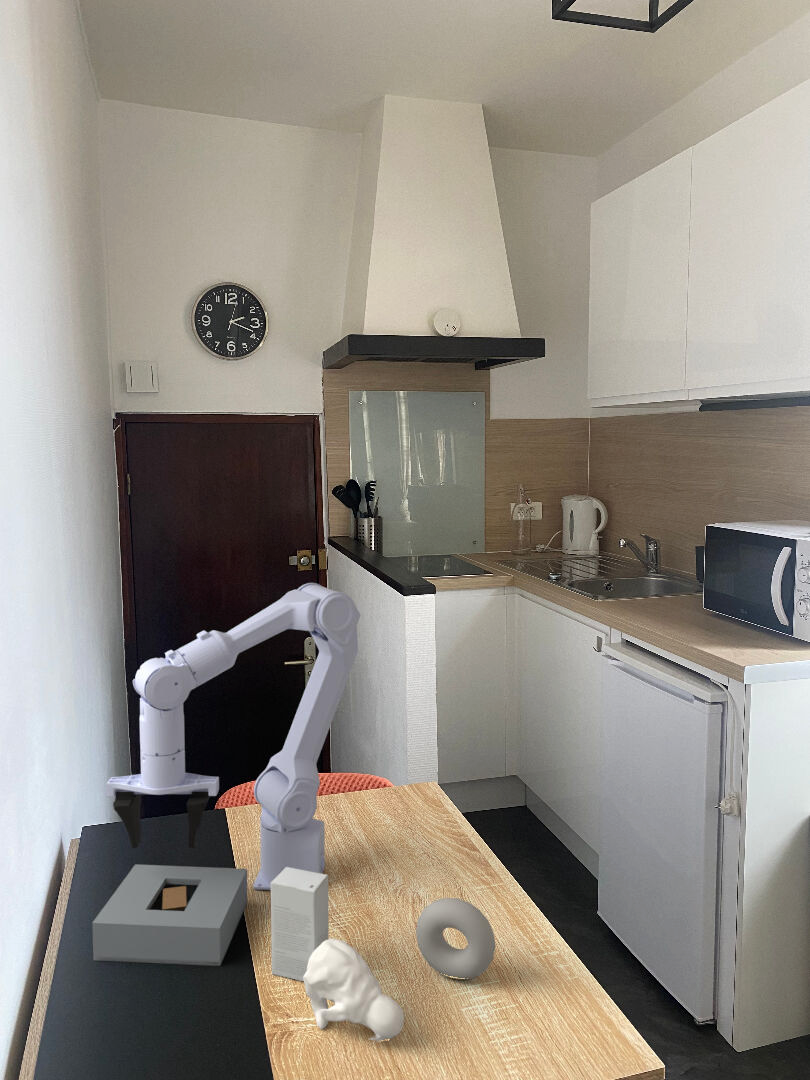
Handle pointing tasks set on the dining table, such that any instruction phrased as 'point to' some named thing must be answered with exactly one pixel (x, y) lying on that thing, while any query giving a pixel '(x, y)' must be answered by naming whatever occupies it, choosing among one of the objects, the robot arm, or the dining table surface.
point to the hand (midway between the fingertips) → (164, 844)
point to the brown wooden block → (174, 899)
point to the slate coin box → (171, 916)
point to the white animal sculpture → (349, 991)
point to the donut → (469, 924)
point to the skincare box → (297, 920)
